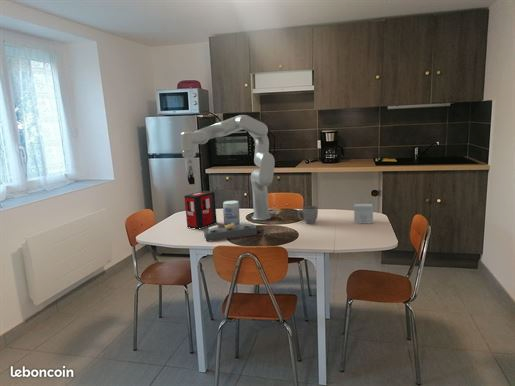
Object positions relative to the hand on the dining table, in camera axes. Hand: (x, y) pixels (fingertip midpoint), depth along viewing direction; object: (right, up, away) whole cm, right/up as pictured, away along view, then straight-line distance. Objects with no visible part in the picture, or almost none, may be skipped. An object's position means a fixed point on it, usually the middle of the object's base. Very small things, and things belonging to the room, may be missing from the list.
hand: (191, 183), depth 224 cm
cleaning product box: (+5, -26, +13) cm, 30 cm away
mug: (+69, -24, +5) cm, 73 cm away
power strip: (+26, -29, -11) cm, 41 cm away
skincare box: (+101, -23, +1) cm, 103 cm away
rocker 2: (+32, -24, -10) cm, 41 cm away
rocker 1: (+15, -25, -15) cm, 33 cm away
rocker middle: (+23, -24, -13) cm, 36 cm away
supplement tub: (+23, -26, +9) cm, 36 cm away
